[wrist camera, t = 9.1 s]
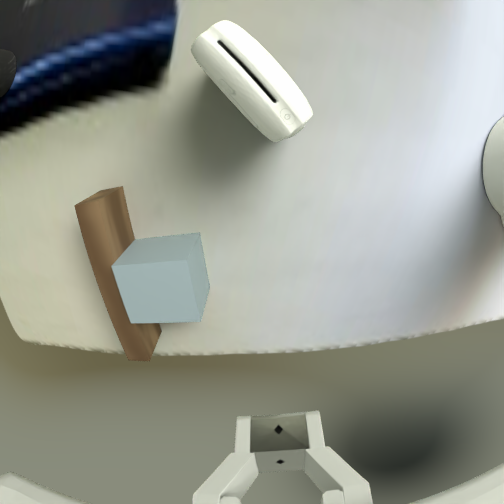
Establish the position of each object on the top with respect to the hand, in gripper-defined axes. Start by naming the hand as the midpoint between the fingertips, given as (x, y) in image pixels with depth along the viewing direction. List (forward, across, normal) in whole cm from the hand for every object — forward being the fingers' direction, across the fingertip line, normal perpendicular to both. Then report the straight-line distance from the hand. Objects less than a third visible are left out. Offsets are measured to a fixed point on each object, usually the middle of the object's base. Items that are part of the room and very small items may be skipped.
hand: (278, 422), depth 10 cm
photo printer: (+25, 0, -13) cm, 28 cm away
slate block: (+25, +11, +5) cm, 28 cm away
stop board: (+25, +17, +5) cm, 31 cm away
